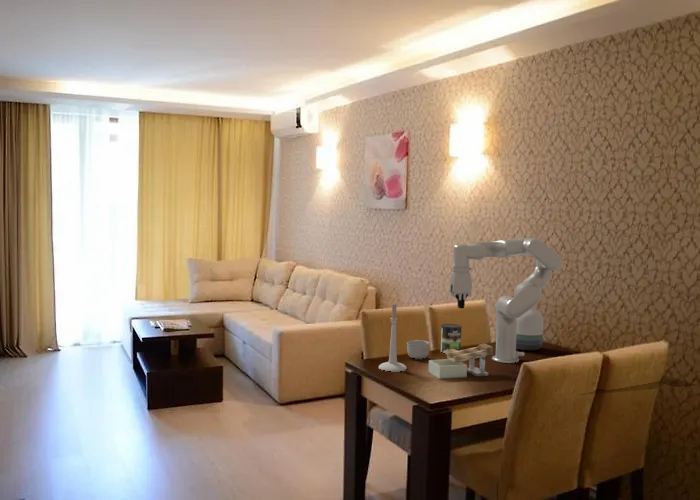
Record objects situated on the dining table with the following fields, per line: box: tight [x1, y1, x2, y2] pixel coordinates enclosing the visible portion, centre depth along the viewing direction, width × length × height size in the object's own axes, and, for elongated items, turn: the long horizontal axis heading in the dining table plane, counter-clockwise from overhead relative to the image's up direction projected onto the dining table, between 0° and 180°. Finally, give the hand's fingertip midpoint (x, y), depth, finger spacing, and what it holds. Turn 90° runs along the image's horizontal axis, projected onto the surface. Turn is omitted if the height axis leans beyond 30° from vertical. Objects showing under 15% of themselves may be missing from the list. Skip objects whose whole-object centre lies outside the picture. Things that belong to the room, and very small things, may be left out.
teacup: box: [406, 339, 430, 360], centre depth 290 cm, size 14×11×8 cm
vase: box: [516, 306, 544, 352], centre depth 314 cm, size 17×17×24 cm
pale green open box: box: [428, 358, 468, 380], centre depth 259 cm, size 13×11×6 cm
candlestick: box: [378, 303, 408, 373], centre depth 267 cm, size 13×13×30 cm
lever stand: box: [467, 355, 490, 377], centre depth 263 cm, size 6×11×9 cm, turn 17°
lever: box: [442, 343, 494, 363], centre depth 265 cm, size 19×15×4 cm
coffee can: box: [440, 323, 463, 353], centre depth 302 cm, size 10×10×14 cm
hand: (461, 307), depth 284 cm, fingers closed
